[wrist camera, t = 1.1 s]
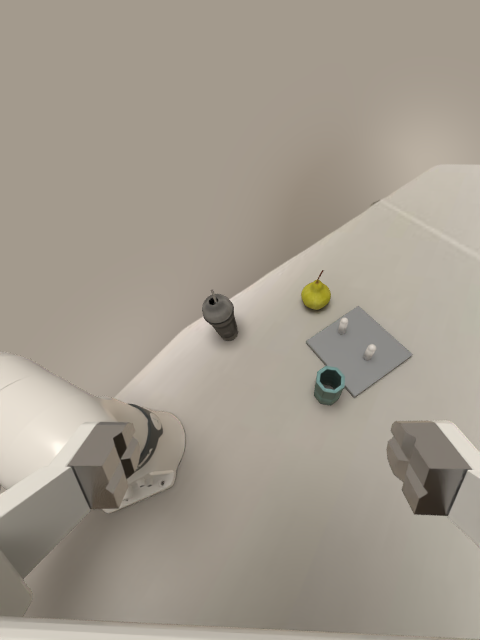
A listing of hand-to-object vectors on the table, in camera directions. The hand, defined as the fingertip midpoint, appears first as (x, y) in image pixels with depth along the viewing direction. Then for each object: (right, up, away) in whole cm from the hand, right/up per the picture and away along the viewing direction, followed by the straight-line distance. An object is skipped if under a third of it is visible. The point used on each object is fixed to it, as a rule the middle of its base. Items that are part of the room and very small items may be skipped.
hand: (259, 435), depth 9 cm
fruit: (+19, +8, +62) cm, 66 cm away
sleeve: (+18, -12, +51) cm, 55 cm away
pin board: (+26, -3, +54) cm, 60 cm away
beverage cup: (-3, 0, +63) cm, 63 cm away
